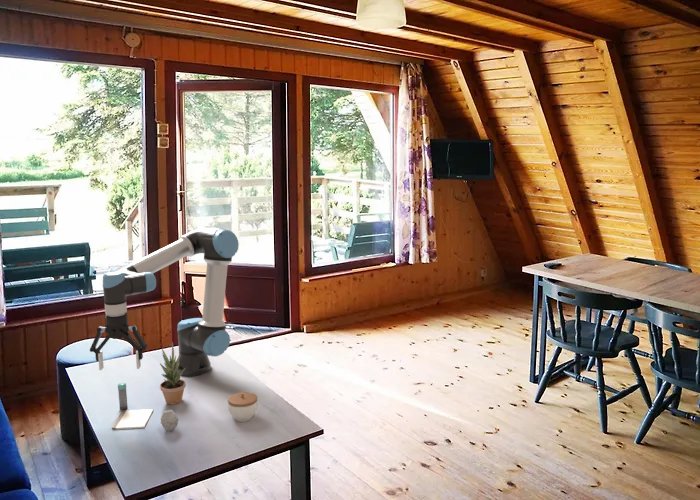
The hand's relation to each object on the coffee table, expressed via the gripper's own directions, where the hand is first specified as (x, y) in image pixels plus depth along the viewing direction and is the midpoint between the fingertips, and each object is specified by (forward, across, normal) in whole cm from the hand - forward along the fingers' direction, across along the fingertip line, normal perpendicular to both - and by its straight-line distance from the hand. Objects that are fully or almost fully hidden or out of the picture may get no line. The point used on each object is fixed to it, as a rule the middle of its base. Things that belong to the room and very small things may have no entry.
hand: (120, 368), depth 222 cm
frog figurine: (+17, -21, +19) cm, 33 cm away
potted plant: (+16, -18, -6) cm, 25 cm away
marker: (+16, 0, 0) cm, 16 cm away
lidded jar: (+16, -46, +12) cm, 50 cm away
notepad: (+16, -6, +9) cm, 20 cm away
